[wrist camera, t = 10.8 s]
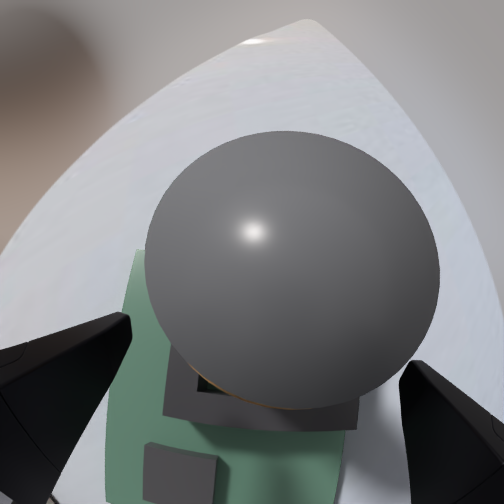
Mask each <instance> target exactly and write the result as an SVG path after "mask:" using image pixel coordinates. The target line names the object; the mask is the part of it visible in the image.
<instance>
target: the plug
mask: <svg viewBox="0 0 504 504" xmlns="http://www.w3.org/2000/svg"><path fill="white" fill-rule="evenodd" d="M144 268H145V279H146V286H147V290H148V295H149V299H150V303H151V305H152V308H153V310H154V313H155V315H156V318H157V320H158V323H159V325H160V326H161V328H162V330H163V331H164V333H165V335H166V336H167V338H168V340H169V341H170V343H171V344H172V345H173V346H174V348H175V349H176V350H177V351H178V352H179V354H180V355H181V356H182V357H183V358H184V360H185V361H186V362H187V363H188V364H189V365H190V366H191V367H192V368H193V369H194V370H195V371H196V372H197V373H198V374H200V375H201V376H202V377H203V378H204V379H205V380H207V381H208V382H209V383H211V384H212V385H214V386H215V387H217V388H219V389H220V390H222V391H223V392H225V393H227V394H229V395H231V396H234V397H236V398H238V399H240V400H243V401H245V402H248V403H252V404H256V405H259V406H263V407H268V408H276V409H285V410H297V409H311V408H321V407H326V406H331V405H336V404H340V403H344V402H347V401H349V400H352V399H355V398H357V397H360V396H362V395H365V394H366V393H368V392H370V391H372V390H373V389H375V388H377V387H378V386H380V385H382V384H383V383H385V382H386V381H387V380H388V379H390V378H391V377H392V376H393V375H395V374H396V373H397V372H398V371H399V370H400V369H401V368H402V367H403V366H404V365H405V364H406V363H407V362H408V360H409V359H410V358H411V357H412V356H413V355H414V353H415V352H416V350H417V349H418V347H419V346H420V344H421V343H422V341H423V339H424V337H425V335H426V333H427V331H428V329H429V327H430V324H431V322H432V319H433V316H434V313H435V309H436V306H437V300H438V294H439V287H440V267H439V259H438V252H437V247H436V243H435V239H434V236H433V233H432V230H431V228H430V225H429V223H428V220H427V218H426V216H425V214H424V212H423V211H422V209H421V207H420V205H419V204H418V202H417V201H416V199H415V198H414V196H413V195H412V193H411V192H410V191H409V190H408V188H407V187H406V186H405V185H404V184H403V183H402V181H401V180H400V179H399V178H398V177H397V176H396V175H394V174H393V173H392V172H391V171H390V170H389V169H388V168H387V167H385V166H384V165H383V164H382V163H380V162H379V161H378V160H376V159H375V158H373V157H371V156H370V155H368V154H367V153H365V152H363V151H362V150H360V149H357V148H355V147H353V146H351V145H349V144H347V143H344V142H342V141H339V140H336V139H333V138H330V137H326V136H322V135H318V134H312V133H306V132H295V131H274V132H265V133H257V134H253V135H248V136H244V137H240V138H238V139H235V140H232V141H229V142H227V143H224V144H222V145H220V146H218V147H216V148H214V149H212V150H210V151H209V152H207V153H206V154H204V155H202V156H201V157H199V158H198V159H197V160H195V161H194V162H193V163H192V164H190V165H189V166H188V167H187V168H186V169H185V170H184V171H183V172H182V173H181V174H180V175H179V176H178V177H177V178H176V179H175V180H174V181H173V183H172V184H171V185H170V187H169V188H168V189H167V191H166V192H165V194H164V195H163V197H162V199H161V201H160V202H159V204H158V206H157V208H156V210H155V212H154V215H153V218H152V221H151V223H150V226H149V230H148V235H147V239H146V244H145V258H144Z"/></svg>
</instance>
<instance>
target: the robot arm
mask: <svg viewBox="0 0 504 504" xmlns="http://www.w3.org/2000/svg"><path fill="white" fill-rule="evenodd" d="M132 338H133V334H132V326H131V318H130V316H129V315H128V314H125V313H122V312H115V313H112V314H109V315H107V316H104V317H101V318H98V319H95V320H92V321H89V322H86V323H83V324H80V325H77V326H74V327H71V328H68V329H65V330H62V331H59V332H56V333H53V334H50V335H47V336H44V337H41V338H37V339H34V340H31V341H29V342H25V343H22V344H19V345H16V346H12V347H9V348H6V349H2V350H0V504H11V503H12V501H14V502H16V503H17V504H46V503H47V501H48V499H49V497H50V495H51V493H52V491H53V489H54V487H55V485H56V483H57V481H58V479H59V477H60V475H61V472H62V471H63V469H64V467H65V465H66V463H67V461H68V459H69V457H70V455H71V453H72V452H73V450H74V448H75V446H76V444H77V442H78V441H79V439H80V437H81V435H82V433H83V432H84V430H85V428H86V426H87V424H88V423H89V421H90V419H91V417H92V416H93V414H94V412H95V410H96V409H97V407H98V405H99V404H100V402H101V400H102V399H103V397H104V395H105V393H106V392H107V390H108V388H109V387H110V385H111V383H112V382H113V380H114V378H115V376H116V374H117V372H118V370H119V368H120V366H121V364H122V361H123V359H124V357H125V355H126V353H127V351H128V349H129V347H130V344H131V342H132ZM399 393H400V404H401V418H402V426H403V433H404V439H405V446H406V453H407V461H408V470H409V479H410V491H411V504H504V424H503V423H502V422H501V421H499V420H498V419H497V418H496V417H494V416H493V415H491V414H490V413H489V412H488V411H487V410H485V409H484V408H483V407H482V406H480V405H479V404H478V403H476V402H475V401H474V400H473V399H471V398H470V397H469V396H467V395H466V394H465V393H464V392H462V391H461V390H460V389H458V388H457V387H456V386H455V385H453V384H452V383H451V382H449V381H448V380H447V379H446V378H444V377H443V376H442V375H440V374H439V373H438V372H436V371H435V370H434V369H432V368H431V367H430V366H429V365H427V364H426V363H425V362H423V361H421V360H411V361H410V362H409V363H408V365H407V367H406V368H405V370H404V372H403V374H402V376H401V377H400V380H399Z"/></svg>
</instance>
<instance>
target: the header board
mask: <svg viewBox="0 0 504 504" xmlns="http://www.w3.org/2000/svg"><path fill="white" fill-rule="evenodd" d="M144 258H145V250H139V249H137V250H136V254H135V258H134V261H133V265H132V269H131V273H130V277H129V281H128V285H127V290H126V294H125V299H124V303H123V308H122V313H125V314H128V315H129V316H130V318H131V326H132V334H133V338H132V342H131V344H130V347H129V349H128V351H127V353H126V355H125V357H124V359H123V361H122V364H121V366H120V368H119V370H118V372H117V374H116V376H115V378H114V380H113V382H112V383H111V385H110V389H109V399H108V410H107V423H106V442H105V491H106V502H108V503H111V504H333V503H334V498H335V493H336V488H337V483H338V477H339V472H340V466H341V459H342V452H343V445H344V437H345V430H356V429H357V420H358V409H359V397H357V398H355V399H352V400H349V401H347V402H344V403H340V404H336V405H331V406H326V407H321V408H311V409H297V410H285V409H276V408H268V407H263V406H259V405H256V404H252V403H248V402H245V401H243V400H240V399H238V398H236V397H234V396H231V395H229V394H227V393H225V392H223V391H222V390H220V389H219V388H217V387H215V386H214V385H212V384H211V383H209V382H208V381H207V380H205V379H204V378H203V377H202V376H201V375H200V374H198V373H197V372H196V371H195V370H194V369H193V368H192V367H191V366H190V365H189V364H188V363H187V362H186V361H185V360H184V358H183V357H182V356H181V355H180V354H179V352H178V351H177V350H176V349H175V348H174V346H173V345H172V344H171V343H170V341H169V340H168V338H167V336H166V335H165V333H164V331H163V330H162V328H161V326H160V325H159V323H158V320H157V318H156V315H155V313H154V310H153V308H152V305H151V303H150V299H149V295H148V290H147V286H146V279H145V268H144Z"/></svg>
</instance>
